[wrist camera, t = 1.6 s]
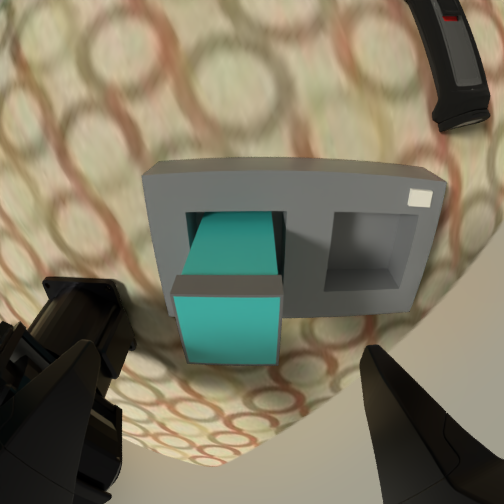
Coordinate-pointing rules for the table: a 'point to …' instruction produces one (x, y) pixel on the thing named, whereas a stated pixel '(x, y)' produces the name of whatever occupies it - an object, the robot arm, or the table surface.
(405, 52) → the table surface
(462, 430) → the robot arm
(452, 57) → the electric trimmer
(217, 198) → the grey flat block
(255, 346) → the plug
